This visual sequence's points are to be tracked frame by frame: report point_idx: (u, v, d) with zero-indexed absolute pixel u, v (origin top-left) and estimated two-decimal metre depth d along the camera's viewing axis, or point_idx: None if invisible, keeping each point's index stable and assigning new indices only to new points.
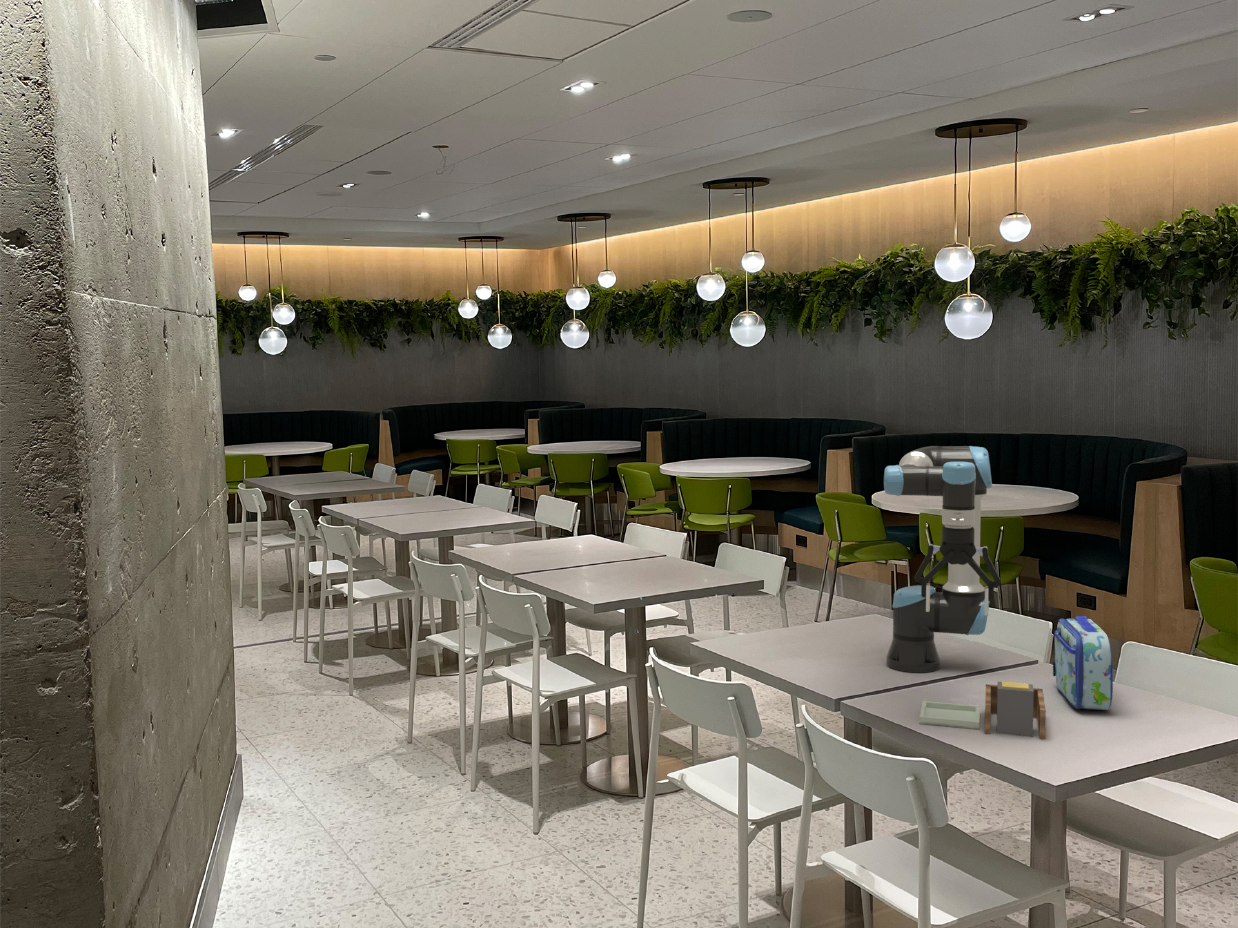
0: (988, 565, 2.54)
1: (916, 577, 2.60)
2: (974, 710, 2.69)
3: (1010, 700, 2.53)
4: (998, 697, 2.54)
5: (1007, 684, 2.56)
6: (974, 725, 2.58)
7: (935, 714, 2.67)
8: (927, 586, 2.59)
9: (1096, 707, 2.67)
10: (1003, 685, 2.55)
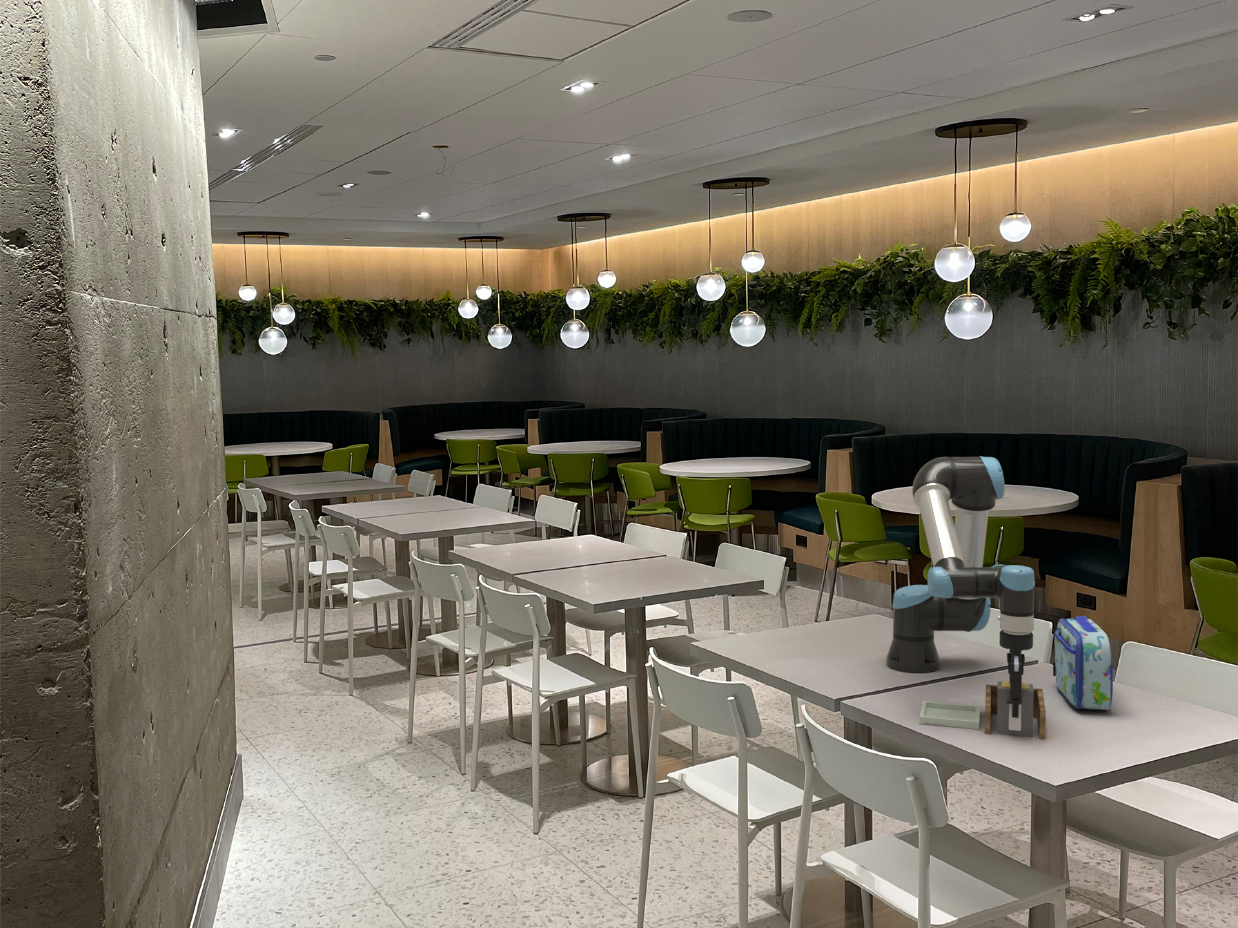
0: (1010, 679, 2.50)
1: None
2: (974, 710, 2.69)
3: None
4: (998, 697, 2.54)
5: (1007, 683, 2.56)
6: (974, 725, 2.58)
7: (935, 714, 2.67)
8: None
9: (1096, 707, 2.67)
10: (1003, 685, 2.55)
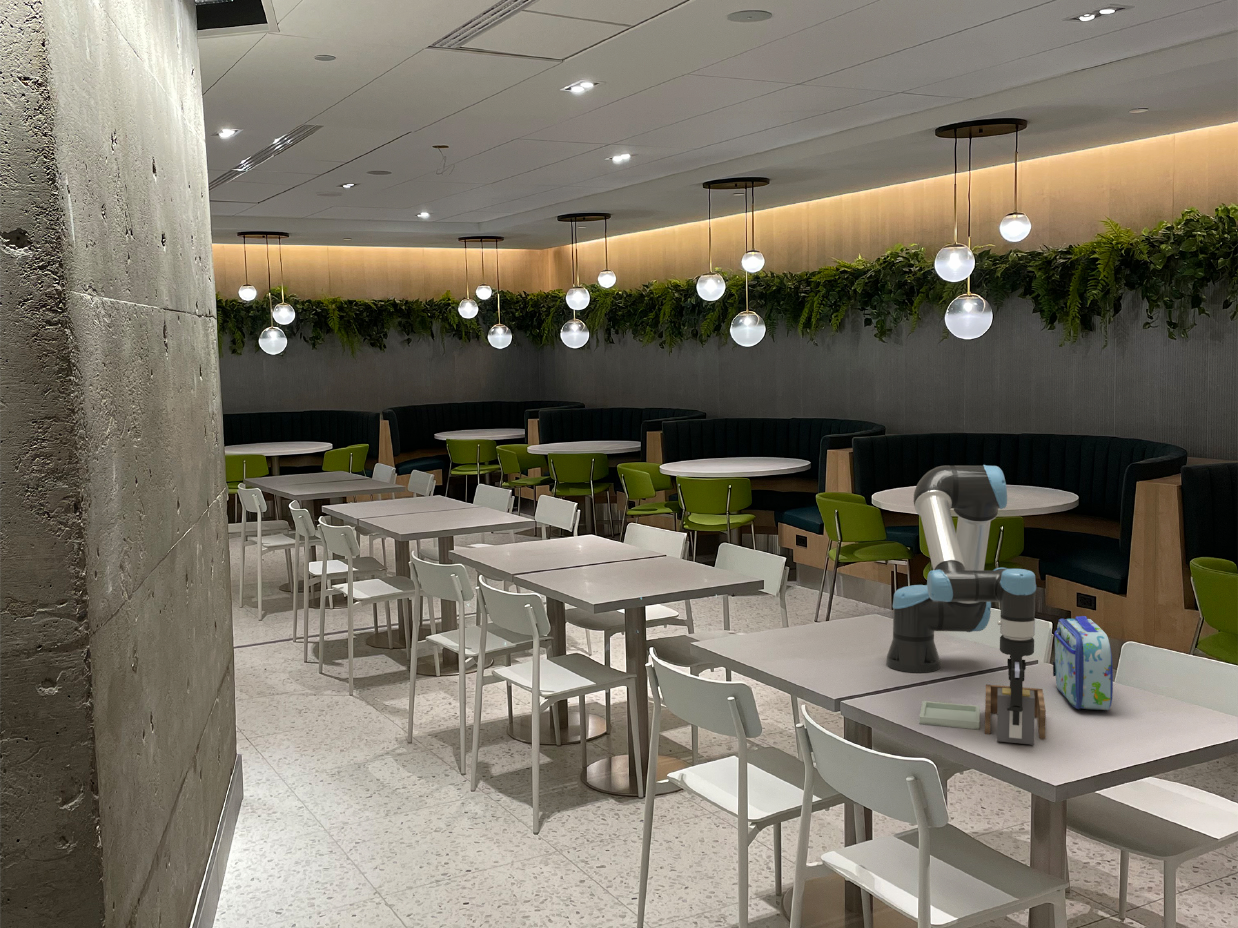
0: (1011, 686, 2.43)
1: None
2: (974, 710, 2.69)
3: None
4: (998, 704, 2.47)
5: (1008, 690, 2.49)
6: (974, 725, 2.58)
7: (935, 714, 2.67)
8: None
9: (1096, 707, 2.67)
10: (1003, 691, 2.48)
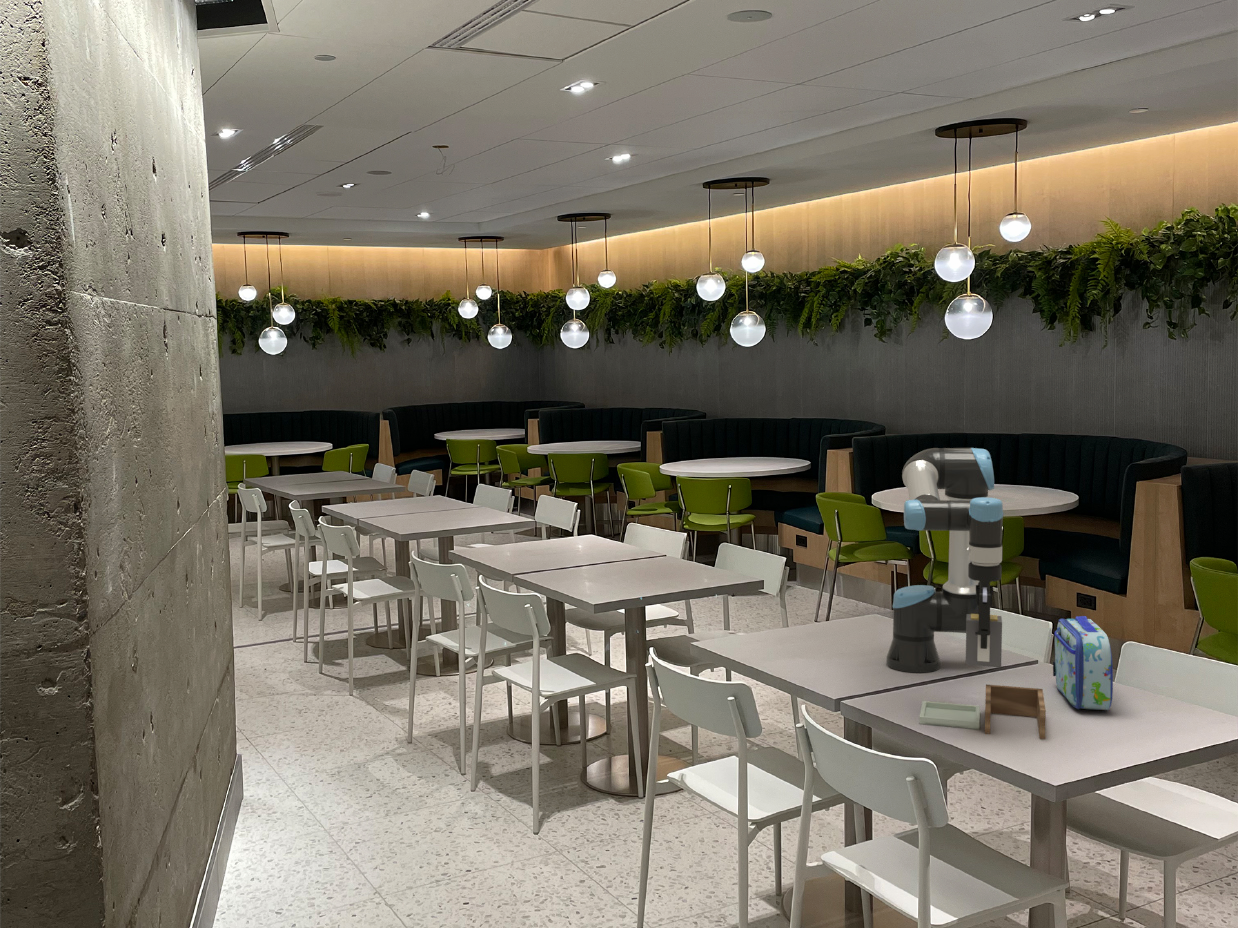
0: (979, 610, 2.50)
1: None
2: (974, 710, 2.69)
3: None
4: (967, 628, 2.54)
5: (976, 615, 2.56)
6: (974, 725, 2.58)
7: (935, 714, 2.67)
8: None
9: (1096, 707, 2.67)
10: (972, 617, 2.55)
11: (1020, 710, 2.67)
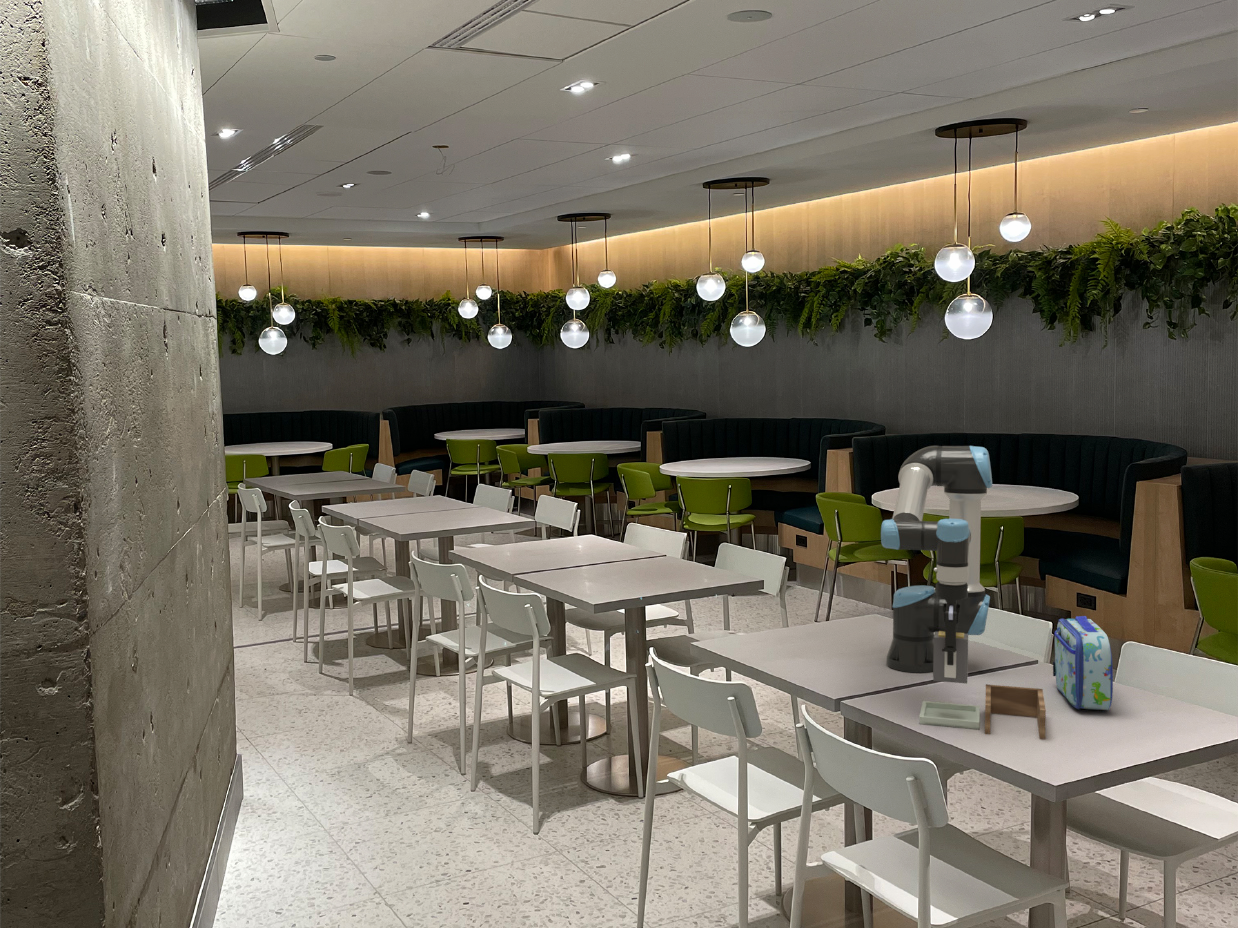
0: None
1: None
2: (974, 710, 2.69)
3: None
4: (934, 645, 2.62)
5: (943, 633, 2.64)
6: (974, 725, 2.58)
7: (935, 714, 2.67)
8: None
9: (1096, 707, 2.67)
10: (939, 634, 2.63)
11: (1020, 710, 2.67)
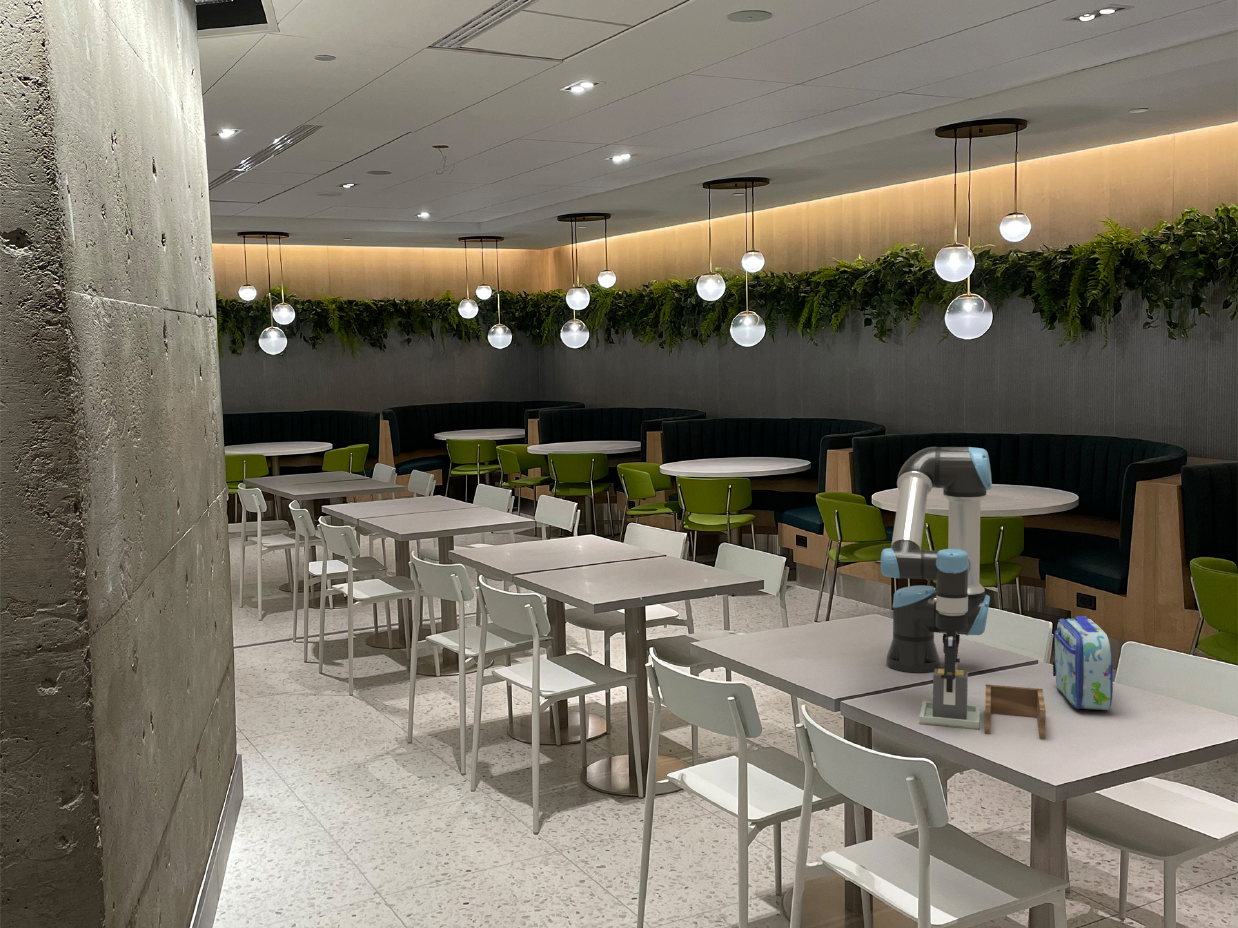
0: None
1: None
2: (974, 710, 2.69)
3: None
4: (934, 683, 2.63)
5: (943, 670, 2.65)
6: (974, 725, 2.58)
7: None
8: None
9: (1096, 707, 2.67)
10: (939, 672, 2.64)
11: (1020, 710, 2.67)
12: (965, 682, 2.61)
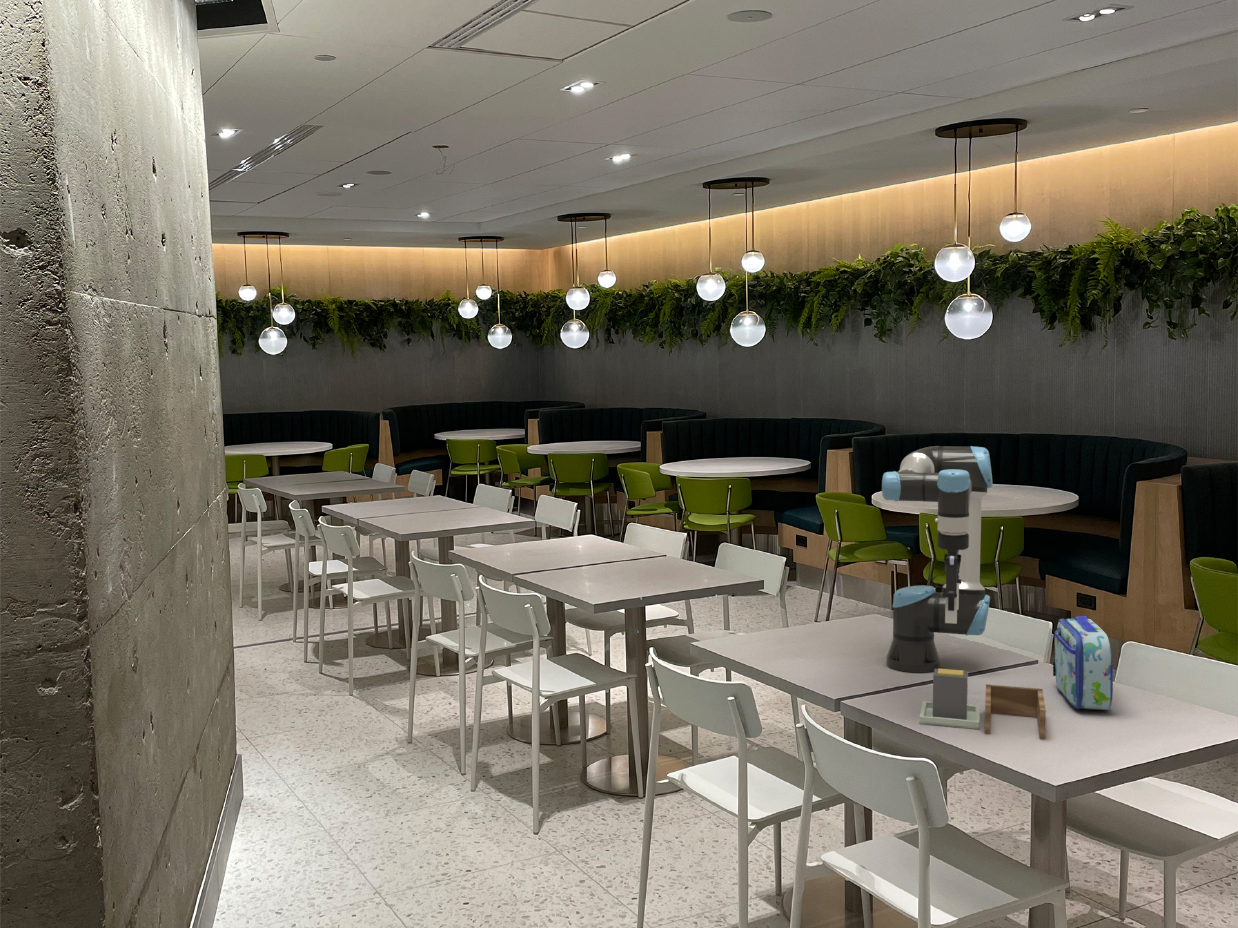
0: None
1: None
2: (974, 710, 2.69)
3: (945, 686, 2.63)
4: (934, 683, 2.63)
5: (943, 670, 2.65)
6: (974, 725, 2.58)
7: None
8: None
9: (1096, 707, 2.67)
10: (939, 672, 2.64)
11: (1020, 710, 2.67)
12: (965, 682, 2.61)
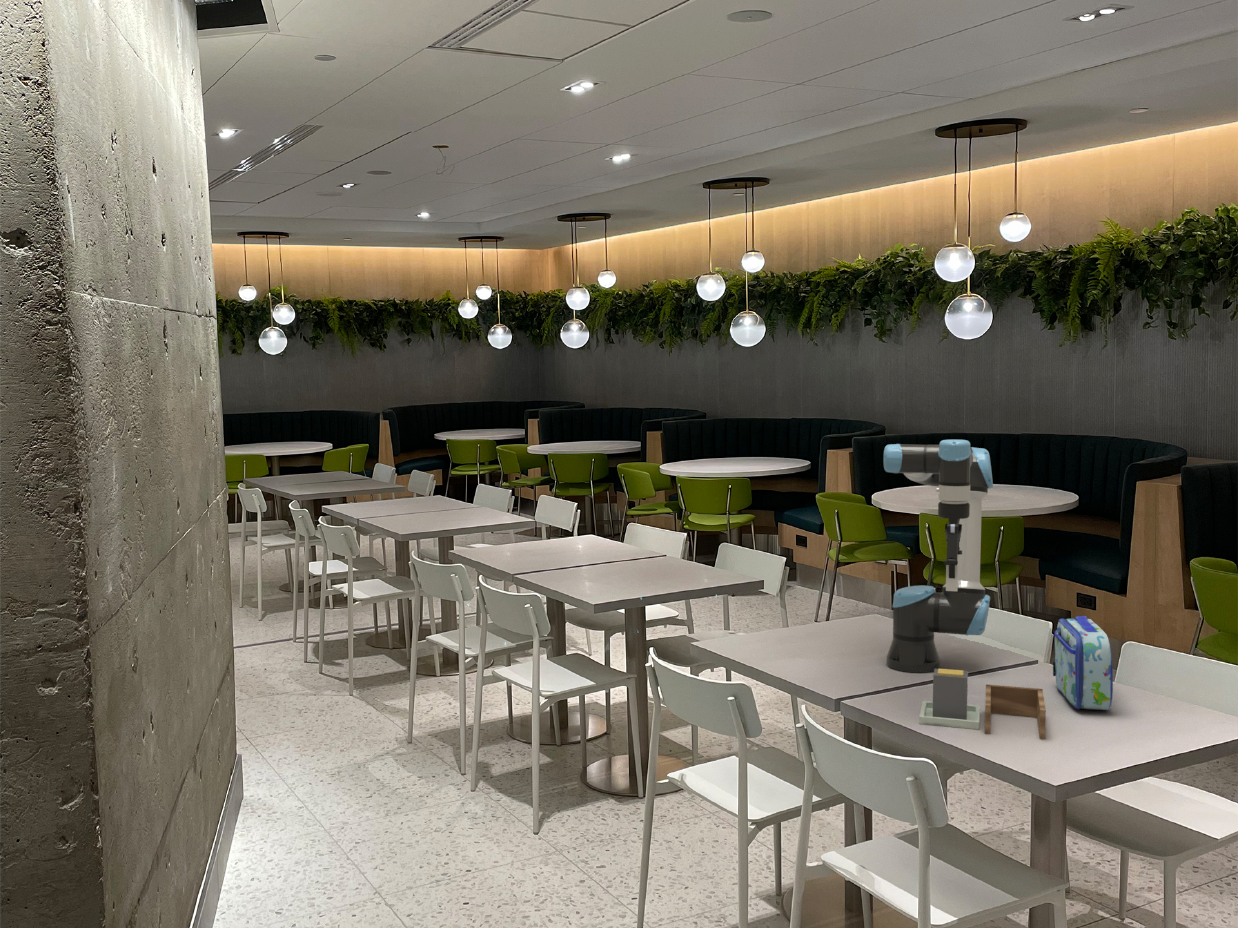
0: (947, 542, 2.60)
1: None
2: (974, 710, 2.69)
3: (945, 686, 2.63)
4: (934, 683, 2.63)
5: (943, 670, 2.65)
6: (974, 725, 2.58)
7: None
8: None
9: (1096, 707, 2.67)
10: (939, 672, 2.64)
11: (1020, 710, 2.67)
12: (965, 682, 2.61)
